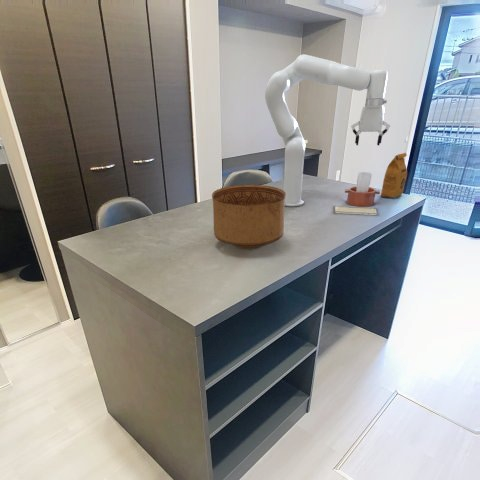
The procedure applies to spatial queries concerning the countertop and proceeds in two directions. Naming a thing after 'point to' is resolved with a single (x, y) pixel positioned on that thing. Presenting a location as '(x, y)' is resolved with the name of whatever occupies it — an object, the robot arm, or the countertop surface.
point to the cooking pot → (361, 197)
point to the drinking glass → (363, 182)
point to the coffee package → (395, 177)
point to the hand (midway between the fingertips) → (367, 145)
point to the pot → (248, 215)
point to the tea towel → (355, 210)
